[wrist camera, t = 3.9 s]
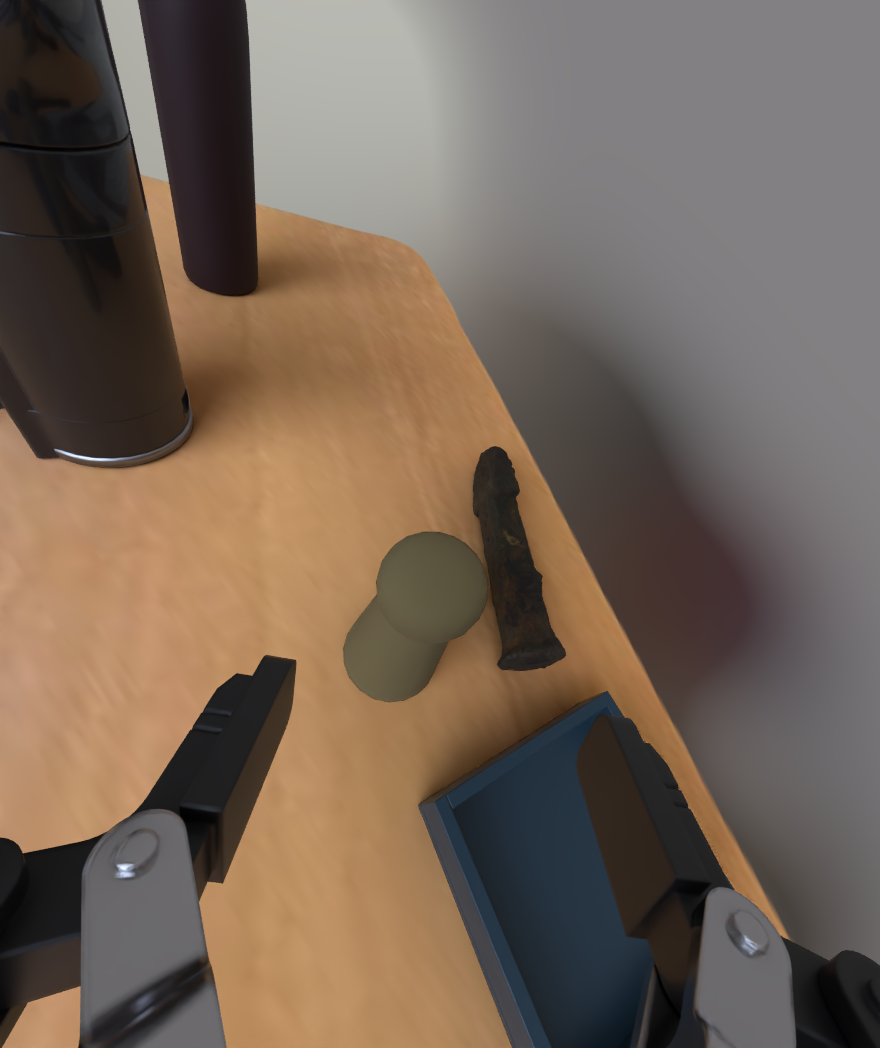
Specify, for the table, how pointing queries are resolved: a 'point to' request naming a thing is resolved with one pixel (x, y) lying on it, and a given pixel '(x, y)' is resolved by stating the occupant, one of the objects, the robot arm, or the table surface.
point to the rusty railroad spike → (512, 568)
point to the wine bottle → (206, 135)
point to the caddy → (540, 891)
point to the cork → (414, 614)
